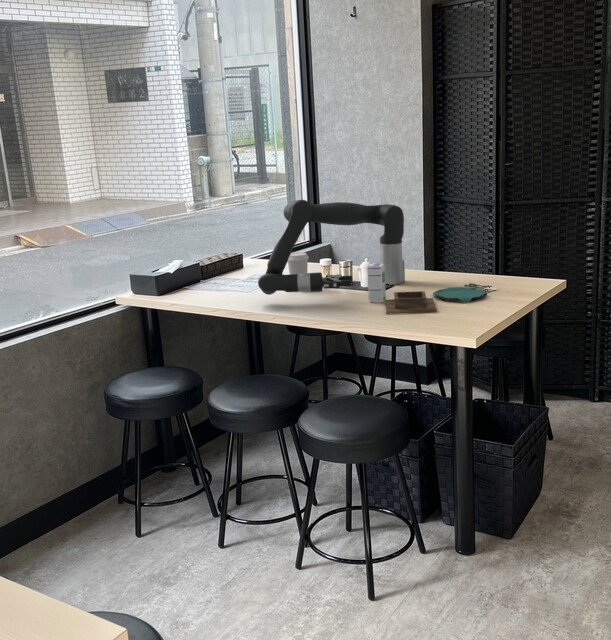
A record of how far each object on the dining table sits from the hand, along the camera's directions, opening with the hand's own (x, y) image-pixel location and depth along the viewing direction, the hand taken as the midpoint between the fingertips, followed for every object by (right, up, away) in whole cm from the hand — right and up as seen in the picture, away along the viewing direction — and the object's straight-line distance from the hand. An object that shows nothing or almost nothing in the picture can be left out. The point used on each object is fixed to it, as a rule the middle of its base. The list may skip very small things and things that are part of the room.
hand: (351, 280), depth 299 cm
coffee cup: (-20, -2, +31) cm, 38 cm away
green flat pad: (+45, -6, +3) cm, 46 cm away
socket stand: (+21, -11, -12) cm, 26 cm away
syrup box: (+10, -8, +1) cm, 13 cm away
